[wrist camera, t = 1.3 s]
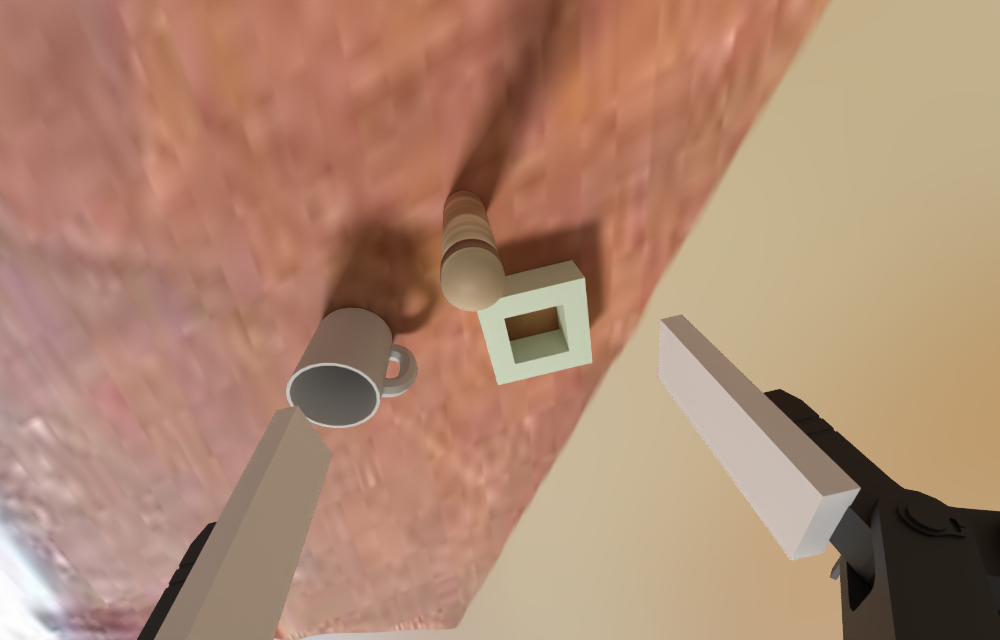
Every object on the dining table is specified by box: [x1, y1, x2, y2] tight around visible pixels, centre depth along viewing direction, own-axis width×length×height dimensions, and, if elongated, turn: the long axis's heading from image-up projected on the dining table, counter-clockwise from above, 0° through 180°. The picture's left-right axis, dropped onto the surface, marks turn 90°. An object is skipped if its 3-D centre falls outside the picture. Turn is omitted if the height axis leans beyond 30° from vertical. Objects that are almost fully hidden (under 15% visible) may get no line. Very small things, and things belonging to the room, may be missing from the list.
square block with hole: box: [477, 260, 592, 385], centre depth 37 cm, size 10×10×4 cm
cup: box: [286, 308, 418, 428], centre depth 34 cm, size 7×10×9 cm
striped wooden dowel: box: [440, 191, 506, 311], centre depth 26 cm, size 4×4×14 cm
